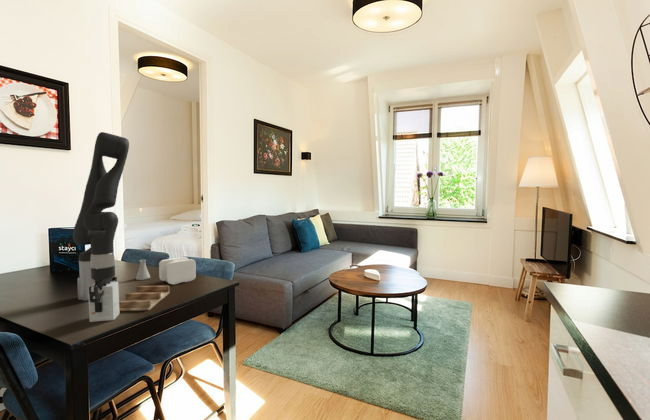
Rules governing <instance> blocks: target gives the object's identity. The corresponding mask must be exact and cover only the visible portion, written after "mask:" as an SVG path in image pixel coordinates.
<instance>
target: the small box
mask: <svg viewBox="0 0 650 420" xmlns="http://www.w3.org/2000/svg"><path fill="white" fill-rule="evenodd" d="M94 284H95V283H94ZM94 284H93V285H91V286H94ZM98 289H99V287H98ZM102 291H104V296H103V299H102V312H95V303H93V302H92V303H90V297H89V287H88V319H89V323H95V322H103V321H104V322H105V321H114V320H115V319H116V318H117V317H118V316H119V315H120V314H121V313H120V312H121V311H119V301H120V293H119V292H120V291H119V281H117V282H112V283H111V284H108V285H107V286H103V287H102V290H100V289H99V290H98V293H102ZM99 298H100V296H99ZM93 299H94V296H93Z"/></svg>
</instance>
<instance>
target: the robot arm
mask: <svg viewBox="0 0 650 420" xmlns="http://www.w3.org/2000/svg"><path fill="white" fill-rule="evenodd" d="M129 149H130V141H129V139H128V138H126V137H123V136H121V135H120V136H119V135H117V134H112V133H108V132H103V131H102V132H99V133H98V134H97V136H96V139H95V143H94V149H93V155H92V159H91V160H92V162H91V167H90V171H89V173H88V174H89V175H88V178H87V182H86V185H85V189H84V193H83V200H82V202H81V203H82V204H81V207H80V211H79V213H78V217H77V219H76V222H75V225H74V227H73V232H72V239H73V242H74V244H75V245H77V246H86V245H87V246H88V245H90V247H89V248H88V249H86V250H85V251H82V252H80V253H79V255H78V267H79V271H78V272H79V276H78V278H77V299H78V300H79V301H88V302H89V300H88V287H89V297H90V303H92V302H93V303H95V312H102V299H103V296H104V291H102V293H98V290H99V289H100V290H102V287H103V286H107V285H108V284H111V283H112V282H118V277H117V276H116V263H115V262H116V260H115V259H116V258H115V251H114V249H115V248H114V240H115V236H116V235H115V234H116V232H117V229H118V228H117V227H118V224H119V217H118V216H117V214H116V213H115V212H113V211H104V210H105V209H110V208H113V207H114V206H115V205H116V203H117V195H118V191H119V189H118V188H119V184H120V181H121V178H122V175H123V172H124V171H123V170H124V168H125V165H126V161H127V157H128V153H129ZM103 157H107V158H111V159H116V161H115V163H114V165H113V167H111V169H110V170H109V171H107V169H106V168H105V165H104V160H103ZM94 283H95V284H94ZM93 284H94V286H91V285H93ZM98 287H99V289H98ZM93 296H94V299H93ZM99 296H100V298H99Z"/></svg>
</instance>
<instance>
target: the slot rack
mask: <svg viewBox="0 0 650 420" xmlns="http://www.w3.org/2000/svg"><path fill="white" fill-rule="evenodd" d="M170 290H171V289H170V285H137V286H136V292H126V293H125V299H124V300H119V311H120V312H121V311H123V312H124V311H150V310H152V308H154V307H155V306H156V305H157V304H158V303H159V302H161V301H162V300H163V299H164V298H166V297H167V296H168V295H169V294H170V293H171V292H170Z"/></svg>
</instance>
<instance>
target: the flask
mask: <svg viewBox="0 0 650 420" xmlns="http://www.w3.org/2000/svg"><path fill="white" fill-rule="evenodd" d="M146 262H147V260H146V259H140V260H139V268H138V271H137V274H136V277H135V280H136V281H142V280H143V281H144V280H149V279H151V275H150V272H149V270H148V268H147V264H146Z"/></svg>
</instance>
